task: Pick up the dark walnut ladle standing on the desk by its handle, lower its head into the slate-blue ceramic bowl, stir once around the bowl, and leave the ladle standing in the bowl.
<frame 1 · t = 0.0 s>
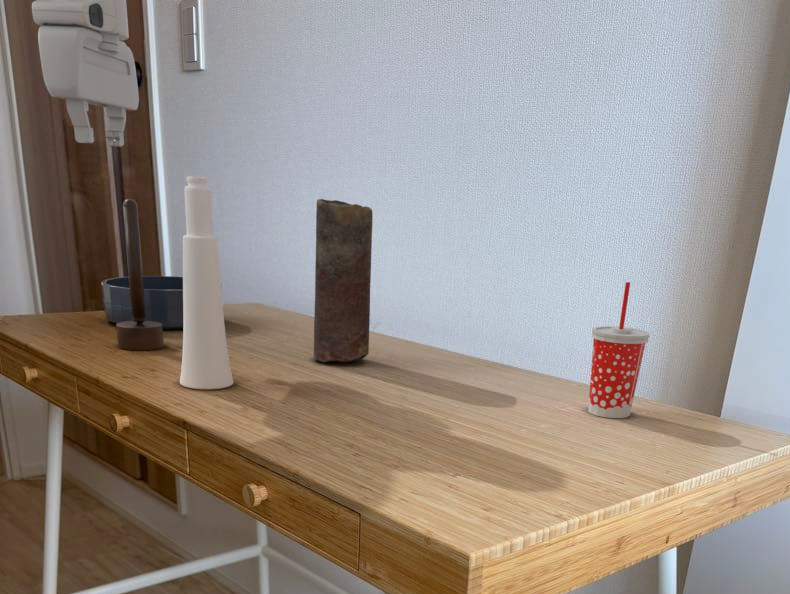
hand: (101, 144, 106), 25 cm above the table, tool pointing down, fingers open, 8 cm apart
bowl: (165, 321, 134), on the table
cosmetic bottle: (206, 385, 96), on the table
ladle: (141, 346, 114), on the table
beverage cup: (608, 414, 93), on the table
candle: (341, 362, 112), on the table
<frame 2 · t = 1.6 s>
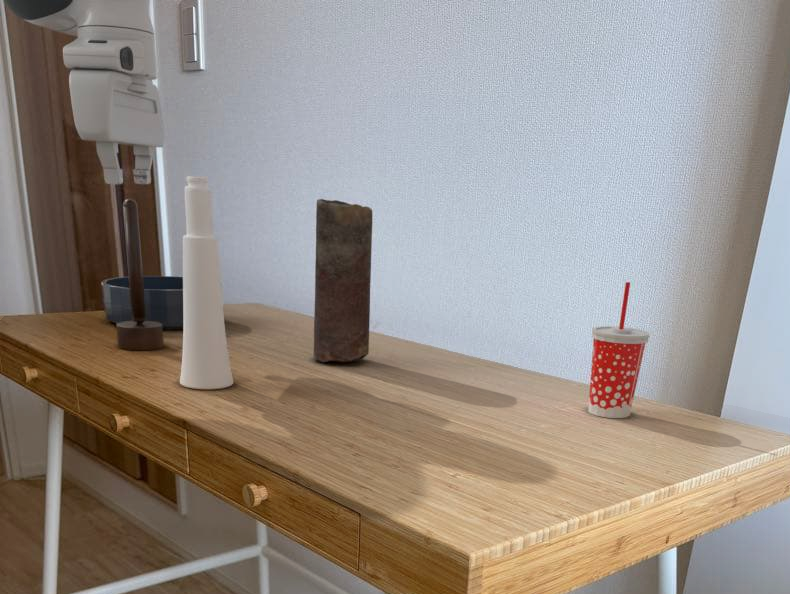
hand: (129, 184, 106), 21 cm above the table, tool pointing down, fingers open, 8 cm apart
nothing on the table moved.
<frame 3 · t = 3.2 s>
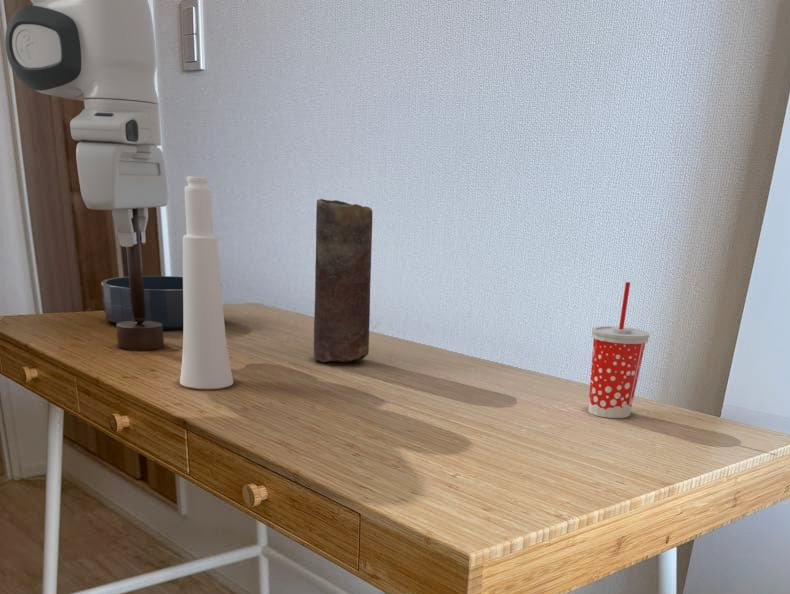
hand: (133, 245, 109), 13 cm above the table, tool pointing down, fingers closed on ladle
ladle: (141, 346, 114), on the table, touching gripper
everything else where it was.
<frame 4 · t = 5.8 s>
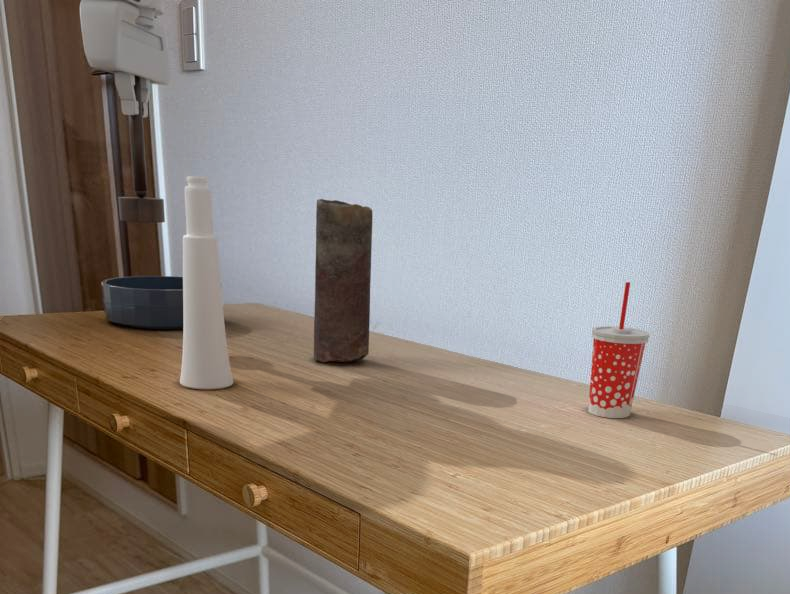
hand: (135, 116, 111), 29 cm above the table, tool pointing down, fingers closed on ladle
ladle: (142, 221, 116), point 16 cm above the table, touching gripper
everything else where it was.
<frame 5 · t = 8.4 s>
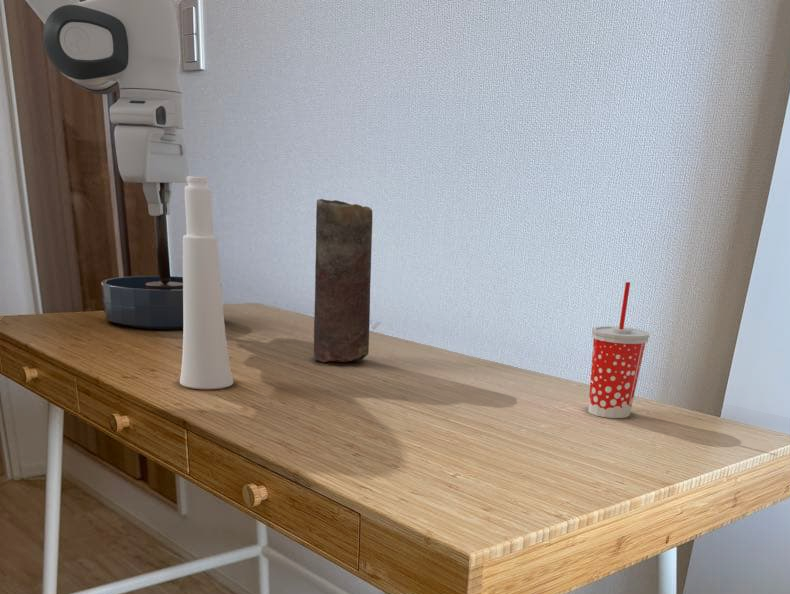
hand: (159, 215, 127), 16 cm above the table, tool pointing down, fingers closed on ladle
ladle: (166, 303, 133), point 3 cm above the table, touching gripper
everything else where it was.
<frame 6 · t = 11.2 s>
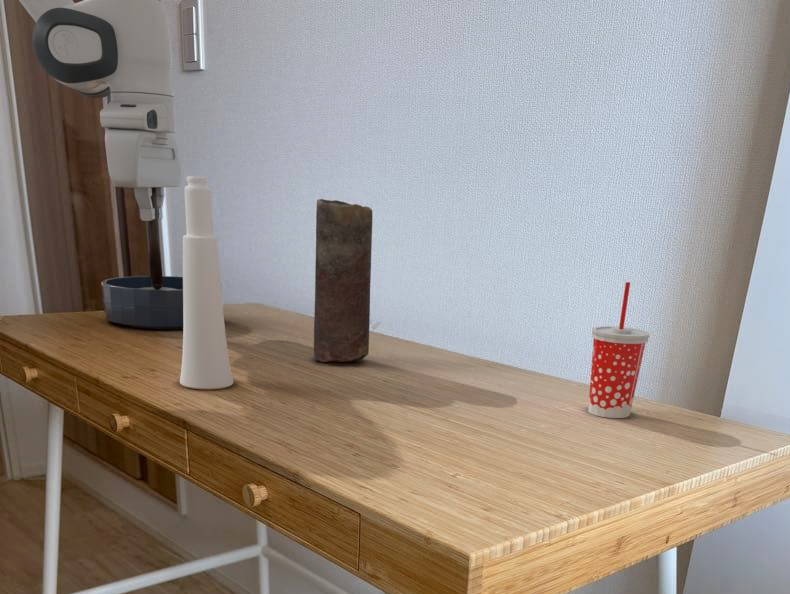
hand: (151, 220, 126), 15 cm above the table, tool pointing down, fingers closed on ladle
ladle: (158, 309, 131), point 2 cm above the table, touching gripper
everything else where it was.
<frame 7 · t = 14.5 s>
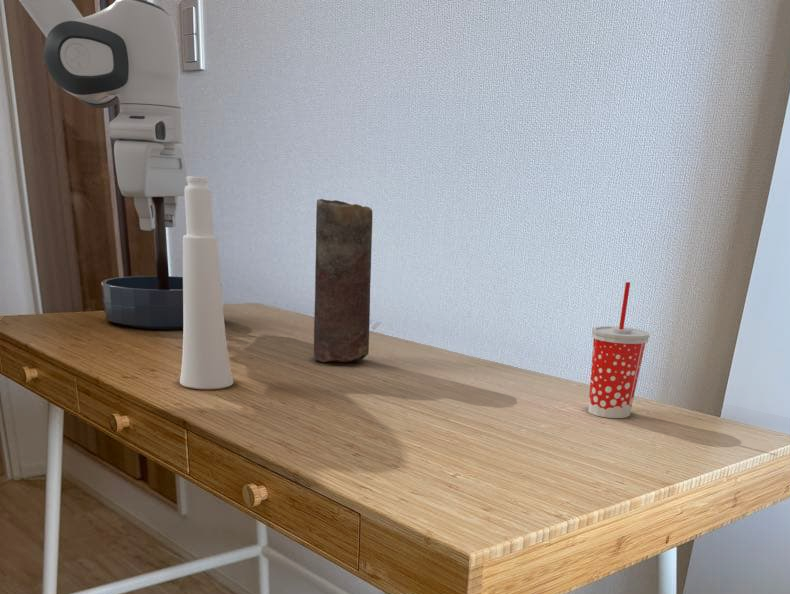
hand: (158, 228, 128), 14 cm above the table, tool pointing down, fingers open, 8 cm apart
ladle: (165, 317, 134), point 1 cm above the table, touching bowl
everything else where it was.
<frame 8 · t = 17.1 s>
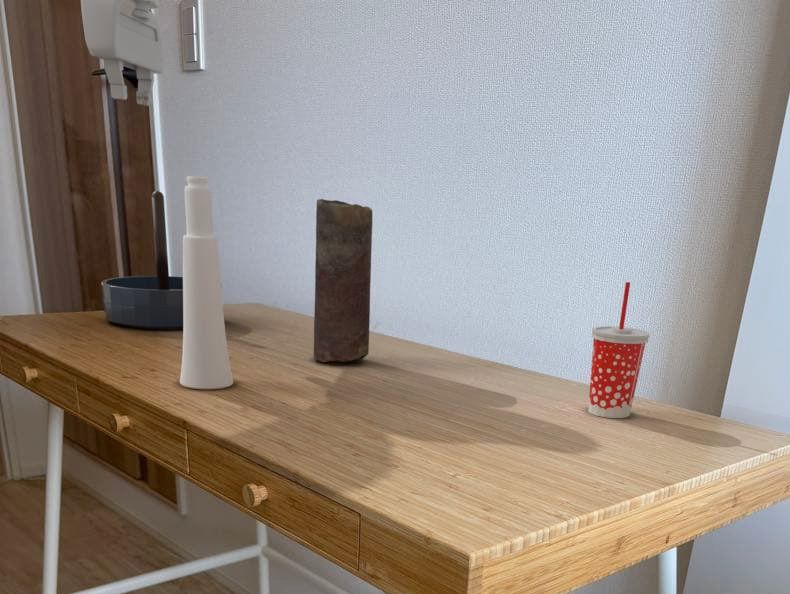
hand: (132, 102, 120), 31 cm above the table, tool pointing down, fingers open, 8 cm apart
nothing on the table moved.
at the end: ladle inside the target area in the bowl (0.1 cm from its centre), point 0.6 cm above the bowl's base; ladle tilted 0°; ladle moved 21.4 cm from its start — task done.
